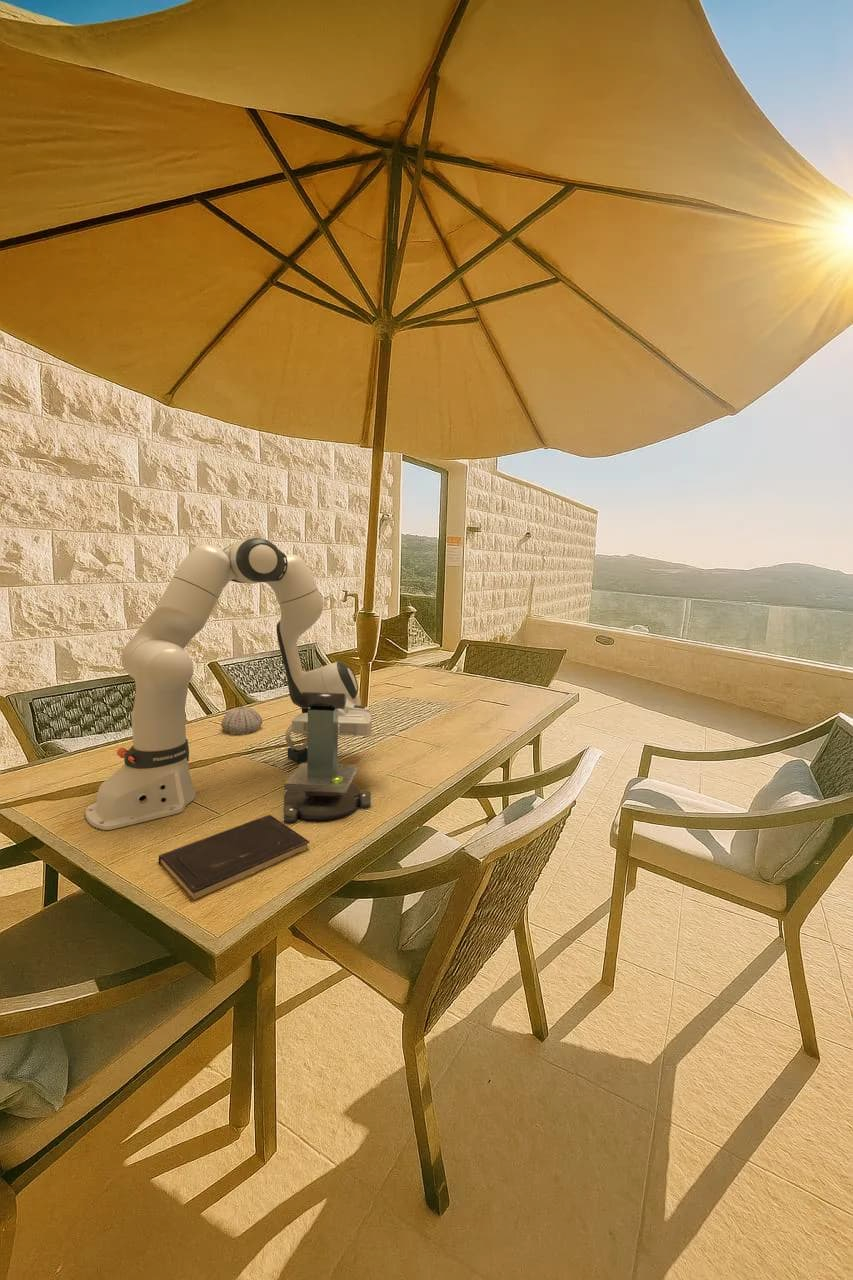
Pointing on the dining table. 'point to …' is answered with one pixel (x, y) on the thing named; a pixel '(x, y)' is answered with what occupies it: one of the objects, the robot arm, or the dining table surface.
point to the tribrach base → (323, 804)
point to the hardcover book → (231, 855)
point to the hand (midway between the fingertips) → (325, 734)
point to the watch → (296, 748)
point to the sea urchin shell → (241, 720)
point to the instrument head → (322, 747)
